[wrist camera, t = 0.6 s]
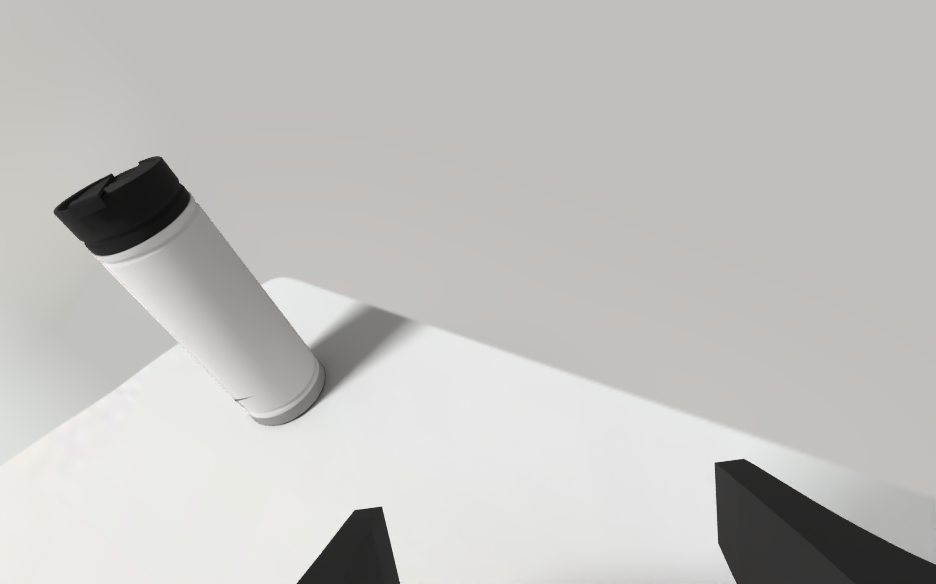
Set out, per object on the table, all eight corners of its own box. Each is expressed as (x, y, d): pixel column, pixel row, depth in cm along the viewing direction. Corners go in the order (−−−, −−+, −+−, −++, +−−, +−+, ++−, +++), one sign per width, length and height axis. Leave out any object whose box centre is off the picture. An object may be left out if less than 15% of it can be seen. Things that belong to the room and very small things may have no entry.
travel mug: (249, 443, 41) (24, 227, 28) (255, 379, 46) (67, 172, 33) (328, 410, 40) (137, 178, 28) (325, 349, 46) (163, 130, 33)
